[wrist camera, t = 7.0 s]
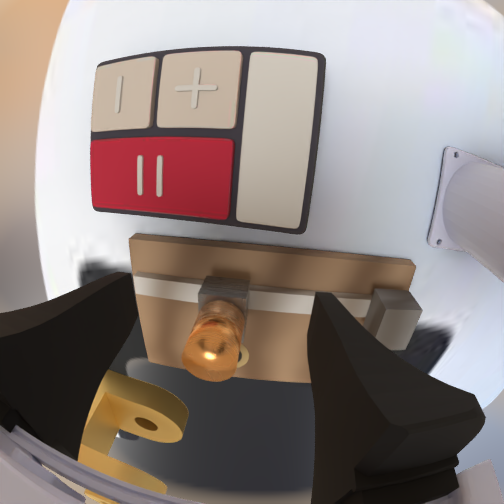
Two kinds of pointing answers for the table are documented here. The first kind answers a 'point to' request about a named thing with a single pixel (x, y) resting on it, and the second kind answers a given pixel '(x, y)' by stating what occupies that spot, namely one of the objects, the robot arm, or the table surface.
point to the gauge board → (266, 298)
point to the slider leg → (217, 328)
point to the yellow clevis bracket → (129, 427)
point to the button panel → (208, 135)
